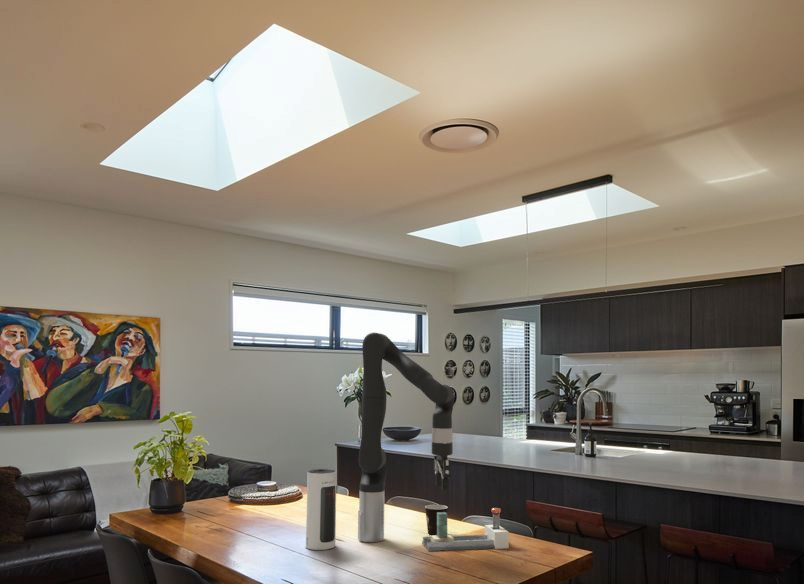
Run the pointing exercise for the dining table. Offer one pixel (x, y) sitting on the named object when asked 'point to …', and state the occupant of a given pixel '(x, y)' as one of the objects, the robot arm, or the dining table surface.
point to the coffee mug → (433, 517)
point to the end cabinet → (498, 536)
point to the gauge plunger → (496, 518)
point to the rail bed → (460, 543)
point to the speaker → (321, 509)
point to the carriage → (441, 529)
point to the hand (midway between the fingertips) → (442, 487)
